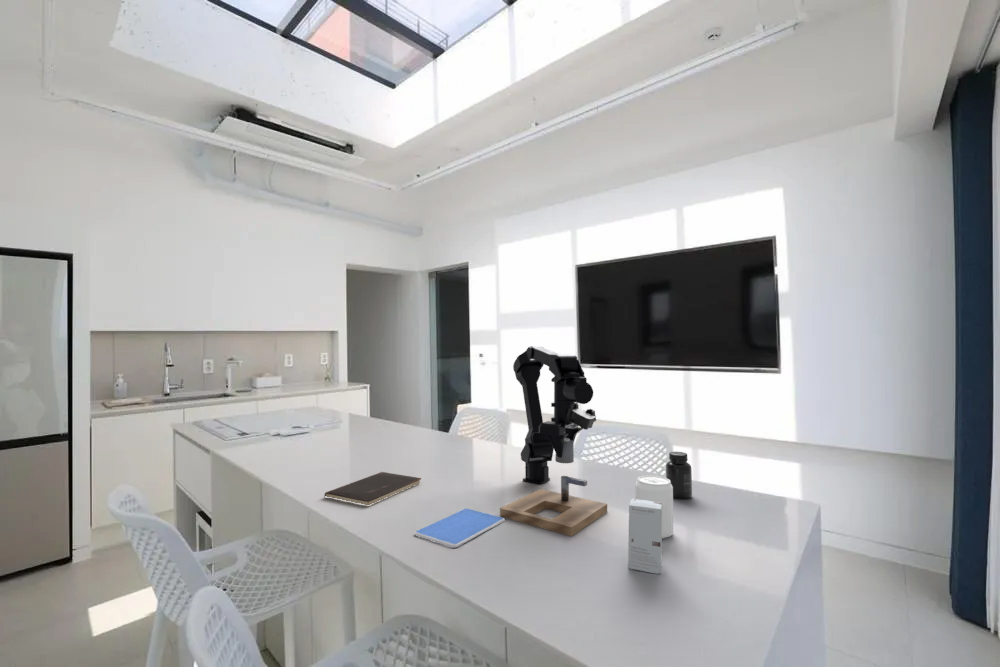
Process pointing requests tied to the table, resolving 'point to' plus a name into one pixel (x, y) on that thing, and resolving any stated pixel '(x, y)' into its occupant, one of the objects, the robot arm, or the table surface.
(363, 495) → the hardcover book
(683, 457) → the supplement bottle
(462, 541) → the tablet computer
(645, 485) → the beverage can
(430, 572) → the table surface
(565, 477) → the hook post
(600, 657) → the table surface
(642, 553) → the skincare box
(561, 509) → the base board
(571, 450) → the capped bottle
